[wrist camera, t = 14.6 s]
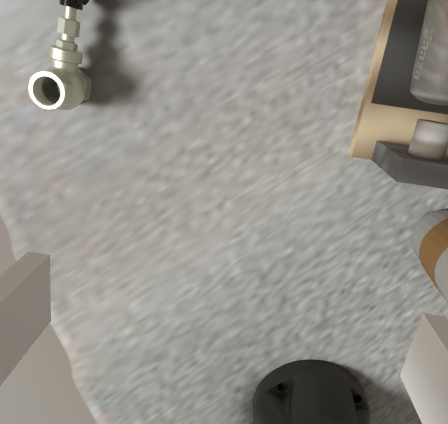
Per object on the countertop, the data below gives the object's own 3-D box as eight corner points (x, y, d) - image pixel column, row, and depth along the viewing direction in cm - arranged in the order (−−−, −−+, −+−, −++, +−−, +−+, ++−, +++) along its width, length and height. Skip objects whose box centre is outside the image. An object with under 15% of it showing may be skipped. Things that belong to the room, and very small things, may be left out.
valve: (103, 113, 44) (121, -9, 40) (79, 122, 38) (97, -21, 34) (43, 97, 44) (54, -27, 40) (9, 104, 38) (18, -43, 34)
